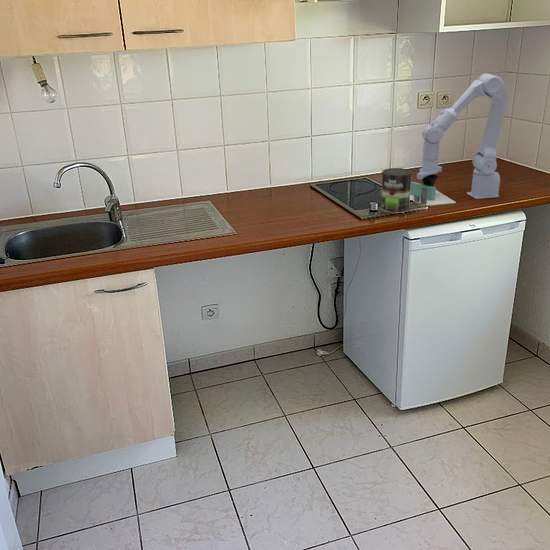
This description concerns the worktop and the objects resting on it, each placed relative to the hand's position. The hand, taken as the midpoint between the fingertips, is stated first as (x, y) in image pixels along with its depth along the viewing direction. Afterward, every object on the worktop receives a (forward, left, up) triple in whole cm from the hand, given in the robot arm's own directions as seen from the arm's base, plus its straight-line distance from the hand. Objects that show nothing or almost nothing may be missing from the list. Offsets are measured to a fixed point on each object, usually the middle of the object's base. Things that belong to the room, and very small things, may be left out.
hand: (427, 193), depth 222 cm
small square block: (+6, +6, -1) cm, 8 cm away
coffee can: (+17, +11, -2) cm, 20 cm away
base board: (+1, 0, -1) cm, 2 cm away
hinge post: (+5, -6, -1) cm, 8 cm away
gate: (+2, 0, -1) cm, 2 cm away
